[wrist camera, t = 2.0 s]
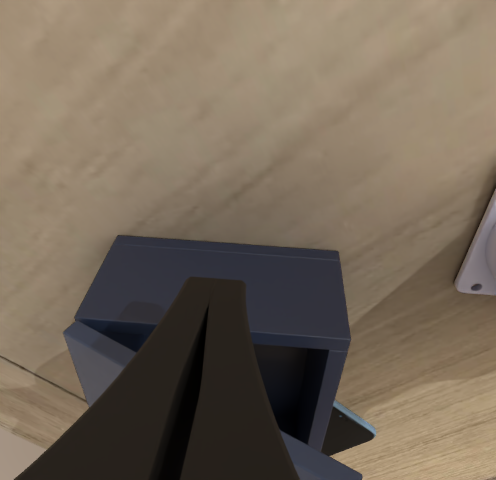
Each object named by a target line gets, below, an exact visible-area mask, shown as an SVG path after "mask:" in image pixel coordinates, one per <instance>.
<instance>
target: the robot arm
mask: <svg viewBox="0 0 496 480" xmlns="http://www.w3.org/2000/svg"><path fill="white" fill-rule="evenodd" d="M474 284H477V285H475V286H473V285H474ZM455 286H456V289H457V291H459V292H461V293H470V294H484V295H496V189H495V191H494V194H493V196H492V198H491V200H490V203H489V205H488V207H487V210H486V212H485V214H484V216H483V219H482V221H481V223H480V225H479V228H478V230H477V232H476V235H475V237H474V239H473V241H472V244H471V246H470V248H469V250H468V253H467V255H466V257H465V260H464V262H463V264H462V266H461V269H460V271H459V273H458V275H457V278H456V280H455ZM14 480H300V478H299V476H298V474H297V471H296V469H295V467H294V464H293V462H292V460H291V457H290V455H289V452H288V450H287V448H286V445H285V443H284V440H283V438H282V435H281V432H280V430H279V427H278V425H277V422H276V419H275V417H274V414H273V411H272V408H271V405H270V402H269V399H268V396H267V393H266V390H265V387H264V384H263V380H262V377H261V374H260V370H259V367H258V363H257V359H256V355H255V351H254V347H253V342H252V338H251V333H250V328H249V322H248V316H247V308H246V284H245V283H244V282H243V281H242V280H232V279H218V278H205V277H192V276H190V277H189V278H188V279H186V281H185V282H184V284H183V286H182V288H181V290H180V291H179V293H178V295H177V296H176V298H175V299H174V301H173V303H172V304H171V306H170V307H169V309H168V310H167V312H166V313H165V315H164V316H163V318H162V319H161V321H160V322H159V323H158V325H157V326H156V328H155V329H154V330H153V332H152V333H151V334H150V336H149V337H148V339H147V340H146V341H145V343H144V344H143V345H142V347H141V348H140V349H139V351H138V352H137V353H136V354H135V356H134V357H133V358H132V359H131V360H130V362H129V363H128V364H127V365H126V367H125V368H124V369H123V370H122V371H121V373H120V374H119V375H118V376H117V378H116V379H115V380H114V381H113V382H112V383H111V385H110V386H109V387H108V388H107V389H106V390H105V391H104V392H103V394H102V395H101V396H100V397H99V398H98V399H97V400H96V401H95V402H94V403H93V404H92V405H91V407H90V408H89V409H88V410H87V411H86V412H85V413H84V414H83V415H82V416H81V417H80V418H79V419H78V420H77V421H76V422H75V423H74V424H73V425H72V426H71V427H70V428H69V429H68V430H67V431H66V432H65V433H64V434H63V435H62V436H61V437H60V438H59V439H58V440H57V441H56V442H55V443H54V444H53V445H52V446H51V447H50V448H49V449H47V450H46V451H45V452H44V453H43V454H42V455H41V456H40V457H39V458H38V459H37V460H36V461H34V462H33V463H32V464H31V465H30V466H29V467H28V468H27V469H25V470H24V472H22V473H21V474H20V475H18V476H17V477H16V478H15V479H14Z"/></svg>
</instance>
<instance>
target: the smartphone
mask: <svg viewBox="0 0 496 480" xmlns="http://www.w3.org/2000/svg"><path fill="white" fill-rule="evenodd" d="M375 436H376V430H375V428H374V427H373V426H372V425H370V424H369V423H367V422H366V421H364V420H363V419H362V418H360V417H359V416H357V415H356V414H354V413H353V412H351V411H350V410H348V409H347V408H346V407H344V406H343V405H341V404H340V403H338V402H337V401H335V400H334V404H333V408H332V412H331V415H330V419H329V423H328V426H327V430H326V434H325V438H324V441H323V445H322V449H321V452H322V453H324V454H325V455H327V456H331V455H333V454H336V453H338V452H341V451H344V450H346V449H349V448H352V447H354V446H357V445H360V444H362V443H365V442H368V441H370V440H372V439H373V438H374V437H375Z"/></svg>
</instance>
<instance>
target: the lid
mask: <svg viewBox="0 0 496 480" xmlns="http://www.w3.org/2000/svg"><path fill="white" fill-rule="evenodd" d="M63 334H64V337H65V340H66V343H67V346H68V349H69V351H70V354H71V357H72V360H73V363H74V366H75V369H76V371H77V374H78V377H79V380H80V383H81V386H82V388H83V391H84V394H85V397H86V400H87V403H88V406H89V408H90V407H91V405H92V404H93V403H94V402H95V401H96V400H97V399H98V398H99V397H100V396H101V395H102V394H103V392H104V391H105V390H106V389H107V388H108V387H109V386H110V385H111V383H112V382H113V381H114V380H115V379H116V378H117V376H118V375H119V374H120V373H121V371H122V370H123V369H124V368H125V367H126V365H127V364H128V363H129V362H130V360H131V359H132V358H133V357H134V356H135V354H136V353H137V352H135V351H133V350H131V349H129V348H127V347H125V346H124V345H122V344H120V343H118V342H116V341H114V340H112V339H111V338H109V337H107V336H105V335H103V334H101V333H99V332H98V331H96V330H94V329H92V328H90V327H88V326H87V325H85V324H83V323H81V322H79V321H75V322H74V323H73V324H72V325H71V326H70V327H68V328H67V329H66V330H65V331H64V332H63ZM280 432H281V435H282V438H283V440H284V443H285V445H286V448H287V450H288V452H289V455H290V457H291V460H292V462H293V464H294V467H295V469H296V471H297V474H298V476H299V478H300V480H362V474H361V473H359V472H357V471H355V470H353V469H351V468H349V467H348V466H346V465H344V464H342V463H340V462H338V461H337V460H335V459H333V458H331V457H329V456H327V455H325V454H324V453H322V452H320V451H318V450H316V449H314V448H312V447H311V446H309V445H307V444H305V443H303V442H301V441H299V440H298V439H296V438H294V437H292V436H290V435H288V434H287V433H285V432H283V431H281V430H280Z"/></svg>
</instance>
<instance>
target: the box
mask: <svg viewBox="0 0 496 480" xmlns="http://www.w3.org/2000/svg"><path fill="white" fill-rule="evenodd" d="M190 276H192V277H205V278H218V279H232V280H242V281H243V282H244V283H245V284H246V308H247V316H248V322H249V328H250V333H251V338H252V342H253V347H254V351H255V355H256V359H257V363H258V367H259V370H260V374H261V377H262V380H263V384H264V387H265V390H266V393H267V396H268V399H269V402H270V405H271V408H272V411H273V414H274V417H275V419H276V422H277V425H278V427H279V430H281V431H283V432H285V433H287V434H288V435H290V436H292V437H294V438H296V439H298V440H299V441H301V442H303V443H305V444H307V445H309V446H311V447H312V448H314V449H316V450H318V451H320V452H321V449H322V445H323V441H324V438H325V434H326V430H327V426H328V423H329V419H330V415H331V412H332V408H333V404H334V400H335V397H336V393H337V389H338V386H339V382H340V378H341V375H342V371H343V367H344V363H345V360H346V356H347V352H348V348H349V345H350V341H351V336H350V329H349V322H348V315H347V307H346V300H345V293H344V286H343V278H342V271H341V264H340V258H339V252H338V251H329V250H315V249H301V248H287V247H274V246H260V245H246V244H232V243H218V242H204V241H190V240H176V239H162V238H148V237H134V236H120V235H118V236H117V237H116V239H115V241H114V243H113V245H112V246H111V248H110V250H109V252H108V254H107V256H106V258H105V260H104V262H103V263H102V265H101V267H100V269H99V271H98V273H97V275H96V277H95V279H94V281H93V283H92V284H91V286H90V288H89V290H88V292H87V294H86V296H85V298H84V300H83V302H82V304H81V306H80V307H79V309H78V311H77V313H76V315H75V321H79V322H81V323H83V324H85V325H87V326H88V327H90V328H92V329H94V330H96V331H98V332H99V333H101V334H103V335H105V336H107V337H109V338H111V339H112V340H114V341H116V342H118V343H120V344H122V345H124V346H125V347H127V348H129V349H131V350H133V351H135V352H138V351H139V349H140V348H141V347H142V345H143V344H144V343H145V341H146V340H147V339H148V337H149V336H150V334H151V333H152V332H153V330H154V329H155V328H156V326H157V325H158V323H159V322H160V321H161V319H162V318H163V316H164V315H165V313H166V312H167V310H168V309H169V307H170V306H171V304H172V303H173V301H174V299H175V298H176V296H177V295H178V293H179V291H180V290H181V288H182V286H183V284H184V282H185V281H186V279H188V278H189V277H190Z"/></svg>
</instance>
